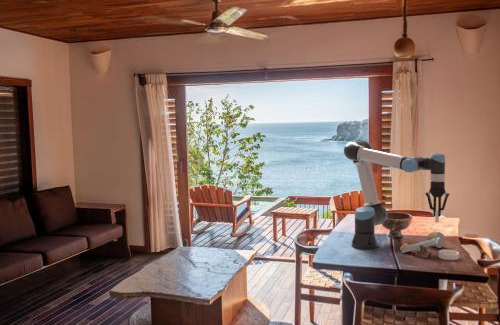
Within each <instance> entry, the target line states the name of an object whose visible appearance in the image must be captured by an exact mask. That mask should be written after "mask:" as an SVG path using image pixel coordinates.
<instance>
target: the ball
mask: <svg viewBox="0 0 500 325" xmlns="http://www.w3.org/2000/svg"><path fill="white" fill-rule="evenodd" d="M409 245H410V244H408V243H406V242H405V243H403V244H402V246H401V247H403V249H404V248H408V247H409Z"/></svg>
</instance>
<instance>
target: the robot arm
mask: <svg viewBox="0 0 500 325" xmlns="http://www.w3.org/2000/svg"><path fill="white" fill-rule="evenodd" d="M343 154H344V156H345V158H346V159H348V160H349V161H352V163H353V165H355V166H356V169H357V174H358V179H359V183H360V187H361V191H362V195H363V201H364V203H363V205H362V206H360V207H357V208H356V209H355V211H354V235H353V237H352V240H351V246H352V248H356V249H359V250H375V249H377V248H378V240H377V237H376V234H375V227H376V226H379V225H382V224H383V223H385V222H386V220H387V219H388V211H387V209H386V207H385V206H384V205H383V203H382V201H381V200H380V199H379V197H378V192H377V187H376V183H375V179H374V174H373V169H372V166H371V163H372V164H377V165H381V166H385V167H389V168H395V169H398V170H402V171H404V172H405V173H414V172H418V171H430V184H429V185H430V188H429V190H428V191H427V192H425V193H424V194H425V196H426V198H427V202H428V206H429V209H430V210H432V211H433V212H432V214H433V215H432V216H433V217H435V218H434V220H435V222H434V223H439V222H440V220H439V219H440V217H441V216H442V211H444V210H445V208H446V205H447V201H448V198H449V196H450V193H449V192H447V190H446V189H445V188H446V184H445V181H446V180H445V179H446V155H445V154H443V153H431V154H430V156H429V157H428V156H411V157H408V156H403V155H399V154H394V153H390V152H389V153H388V152H384V151H381V150H375V149H373V147H372V145H371V143H369V142H368V141H366V140H354V141H349V142H348V143H346V144H345V146H344V148H343ZM431 196H432V197H433V202H432V198H431ZM443 196H444V199H443V203H442V197H443ZM437 200H438V201H437ZM437 202H438V203H437Z"/></svg>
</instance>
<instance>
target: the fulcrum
mask: <svg viewBox="0 0 500 325" xmlns="http://www.w3.org/2000/svg"><path fill="white" fill-rule="evenodd" d="M424 241H425V240H422V242H424ZM430 253H431V249H428V248H427V247H423V245H420V248H419V249H417V251H416V252H415V257H418V258H424V259H425V258H426V259H427V258H428V257H429V255H430Z"/></svg>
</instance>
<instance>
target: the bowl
mask: <svg viewBox="0 0 500 325" xmlns="http://www.w3.org/2000/svg"><path fill="white" fill-rule="evenodd" d="M437 252H438V253H437V254H438V255H437V256H438V258H440V259H442V260H444V261H445V260H446V261H458V260H459V258H460V252H458V251H457V250H453V249H440V250H438V251H437Z"/></svg>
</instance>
